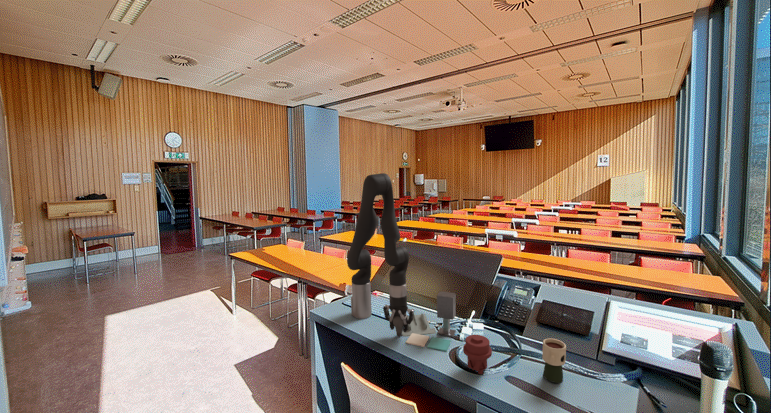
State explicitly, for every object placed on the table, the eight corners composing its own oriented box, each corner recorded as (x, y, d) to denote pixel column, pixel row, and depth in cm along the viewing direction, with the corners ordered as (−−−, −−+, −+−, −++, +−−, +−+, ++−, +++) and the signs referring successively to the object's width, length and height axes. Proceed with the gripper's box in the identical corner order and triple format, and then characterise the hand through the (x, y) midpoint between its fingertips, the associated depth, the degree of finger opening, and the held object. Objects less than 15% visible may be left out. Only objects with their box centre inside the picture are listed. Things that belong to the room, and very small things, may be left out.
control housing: (437, 334, 148) (436, 295, 145) (440, 328, 153) (440, 290, 150) (453, 337, 145) (453, 297, 143) (455, 331, 150) (455, 293, 148)
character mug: (563, 391, 110) (565, 354, 108) (539, 384, 114) (540, 348, 112) (565, 373, 119) (567, 338, 118) (543, 367, 123) (544, 333, 121)
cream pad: (405, 343, 142) (405, 342, 142) (412, 334, 149) (412, 332, 149) (423, 346, 139) (423, 345, 139) (429, 337, 146) (429, 336, 146)
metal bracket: (398, 312, 158) (429, 309, 160) (397, 321, 161) (428, 319, 163) (403, 335, 146) (437, 332, 147) (403, 345, 148) (436, 342, 150)
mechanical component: (457, 369, 123) (472, 357, 130) (482, 381, 116) (496, 368, 123) (457, 338, 122) (472, 327, 128) (483, 348, 114) (497, 337, 121)
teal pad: (427, 347, 138) (427, 346, 138) (432, 338, 145) (432, 336, 145) (446, 351, 135) (446, 350, 135) (451, 341, 142) (451, 340, 142)
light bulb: (391, 339, 145) (391, 317, 144) (394, 332, 151) (394, 311, 149) (404, 340, 144) (403, 318, 142) (406, 334, 149) (406, 312, 148)
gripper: (379, 294, 144) (380, 331, 146) (410, 299, 138) (411, 337, 141) (386, 288, 151) (387, 323, 153) (416, 292, 145) (417, 329, 147)
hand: (399, 330), depth 147 cm, fingers closed on light bulb, 5 cm apart
